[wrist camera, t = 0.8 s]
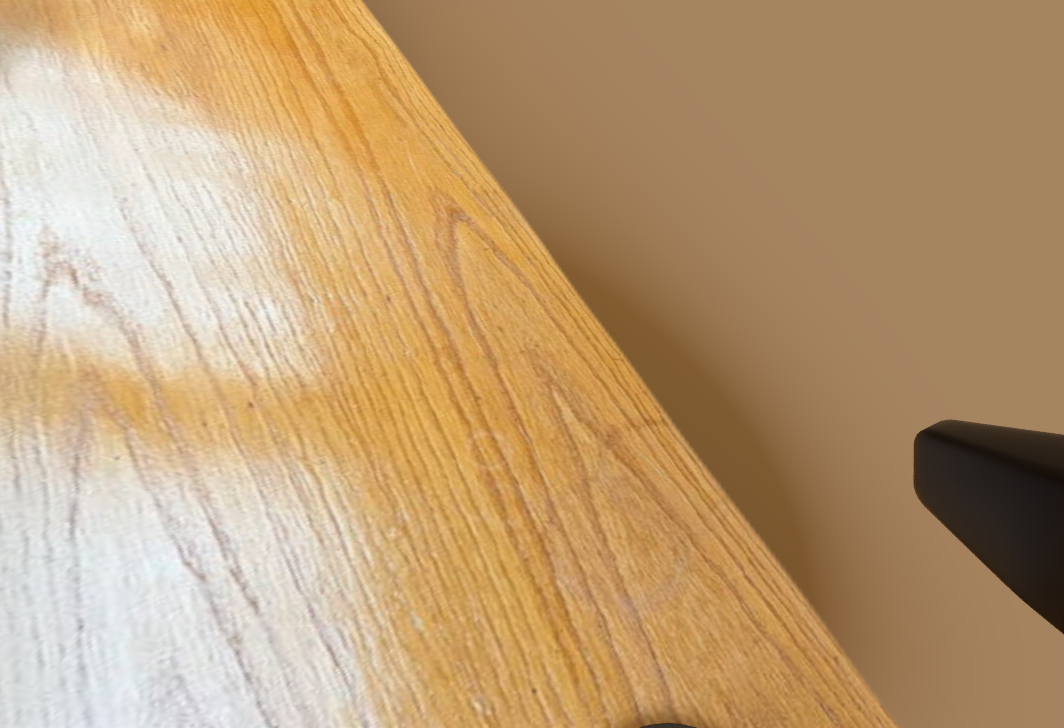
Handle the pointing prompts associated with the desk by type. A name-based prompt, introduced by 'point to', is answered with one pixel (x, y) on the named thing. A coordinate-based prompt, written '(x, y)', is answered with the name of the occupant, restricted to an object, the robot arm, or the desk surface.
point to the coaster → (667, 726)
